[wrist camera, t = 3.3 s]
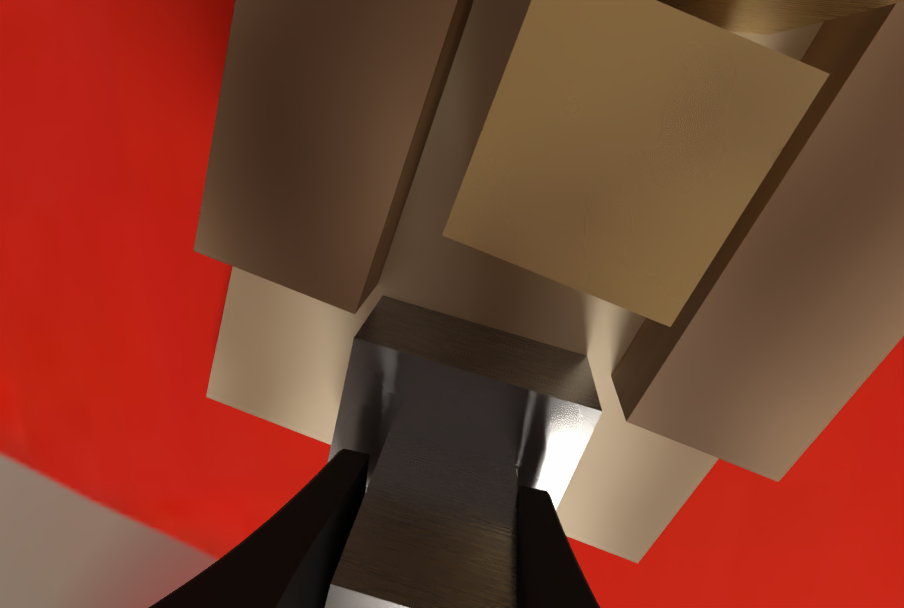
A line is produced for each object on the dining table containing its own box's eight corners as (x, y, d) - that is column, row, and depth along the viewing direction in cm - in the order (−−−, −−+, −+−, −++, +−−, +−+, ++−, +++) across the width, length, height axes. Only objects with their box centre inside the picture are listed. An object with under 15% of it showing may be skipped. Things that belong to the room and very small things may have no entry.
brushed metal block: (587, 355, 13) (647, 577, 7) (526, 497, 15) (531, 764, 9) (382, 295, 13) (267, 463, 7) (348, 444, 15) (236, 674, 9)
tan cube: (717, 83, 10) (829, 74, 7) (622, 256, 12) (670, 326, 8) (537, 6, 10) (549, -46, 6) (465, 192, 12) (442, 235, 8)
